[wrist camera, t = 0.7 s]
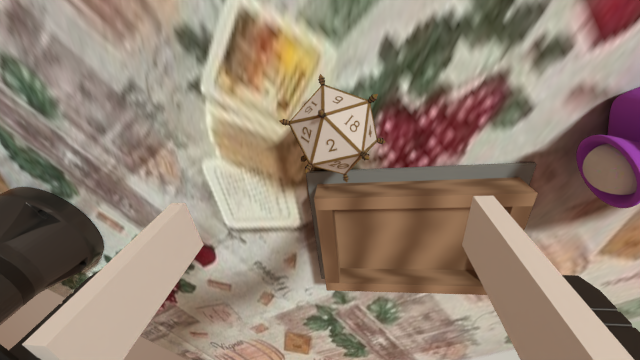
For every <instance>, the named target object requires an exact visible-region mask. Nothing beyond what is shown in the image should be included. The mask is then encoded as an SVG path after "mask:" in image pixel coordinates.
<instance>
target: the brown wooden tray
mask: <svg viewBox="0 0 640 360" xmlns="http://www.w3.org/2000/svg"><path fill="white" fill-rule="evenodd" d="M537 194H538V193H537V192H536V191H535V190H534V189H532V188H531V187H530V186H529V185H528V184H527V183H525V182H524V181H523V180H522V179H521V178H520V177H514V178H485V179H455V180H426V181H396V182H367V183H337V184H317V189H316V193H315V197H314V202H315V209H316V216H317V223H318V230H319V238H320V245H321V252H322V259H323V266H324V274H325V281H326V288H327V290H335V291H370V292H406V293H442V294H477V295H487V293H486V291H485V289H484V287H483V285H482V283H481V281H480V279H479V277H478V275H477V273H476V272H475V270H474V268H473V266H472V264H471V262H470V260H469V258H468V256H467V254H466V252H465V250H464V248H463V246H462V243H463V239H464V234H465V230H466V226H467V221H468V217H469V212H470V208H471V203H472V199H473V196H494V197H495V198H496V199H497V200H498V202H499V203H500V204H501V205H502V206H503V207H504V209H505V210H506V211H507V212H508V213H509V214H510V216H511V217H512V218H513V219H514V220H515V221H516V223H517V224H518V225H519V226H520V227H521V228H522V230H523V231H524V229H525V226H526V224H527V221H528V218H529V216H530V213H531V210H532V208H533V205H534V202H535V200H536V197H537Z"/></svg>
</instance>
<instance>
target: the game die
mask: <svg viewBox="0 0 640 360" xmlns="http://www.w3.org/2000/svg"><path fill="white" fill-rule="evenodd" d="M318 80H319V83H320V84H321V86H320V88H319V89H318V90H317V91H316V92H315V93H314V94H313V96H312V97H311V98H310V99H309V100H308V101H307V102H306V103H305V105H304V106H303V107H302V108H301V109H300V110H299V111H298V113H297V114H296V115H295V116H294V117H293V118H292V119H291V121H288V120H284V119H283V120H280V122H281V123H282V124H283V125H285V126H286V125H289V126H290V128H291V130H292V132H293V134H294V135H295V137H296V139H297V141H298V143H299V145H300V147H301V149H302V151H303V153H304V155H305V156H303V157H301V161H303V162H304V161H306V160H307V161H308V163H309V165H307V167H305V173H307V172H311V170H312V167H316V168H320V169H324V170H328V171H332V172H336V173H339V174H343V180H344V181H345V182H348V179H349V178H348V175H347V173H348V172H349V171H350V170H351V169H352V168H353V166H354V165H355V164H356V163H357V162H358V161H359V160H360V159H361V158H362V159H364V160H369V154H367V152H368V151H369V149H370V148H371V147H372V146H373V145H374V144H375V143H376V142H378V143H380V144H382V143H385V141H384V140H383V138H377V135H376V130H375V125H374V120H373V115H372V110H371V105H370V103H372V102H374V101H375V100H376V98H377V95H378V94H375V95H371V97H369V99H368V100H367V99H364V98H361V97H358V96H355V95H352V94H350V93H347V92H344V91H341V90H338V89H335V88H333V87H330V86H327V85H325V80H324V77H323V76H322V75H321V74H320V76H319V79H318Z"/></svg>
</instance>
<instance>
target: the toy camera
mask: <svg viewBox="0 0 640 360" xmlns="http://www.w3.org/2000/svg"><path fill="white" fill-rule="evenodd" d="M576 159H577V165H578V168H579V171H580V174H581V176H582V178H583V179H584V181H585V183H586V184H587V186H588V187H589V188H590V190H591V191H592V192H593V193H594V194H595V195H596V196H597V197H598V198H600V199H601V200H602V201H604V202H605V203H607V204H609V205H611V206H614V207H618V208H629V207H633V206H635V205H637V204H639V203H640V87H639V88H636V89H633V90H630V91H628V92H626V93H624V94H622V95H620V96H618V97H617V98H616V99H615V100H614V102H613V103H612V106H611V110H610V116H609V125H608V135H592V136H589V137H587V138H585V139H584V140H583V141H582V142H581V143H580V144H579V146H578V149H577V154H576Z"/></svg>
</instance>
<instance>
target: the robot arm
mask: <svg viewBox="0 0 640 360" xmlns="http://www.w3.org/2000/svg"><path fill="white" fill-rule="evenodd" d="M203 245H204V244H203V242H202V240H201V238H200V235H199V233H198V231H197V229H196V226H195V224H194V222H193V219H192V217H191V215H190V213H189V210H188V208H187V206H186V204H185V203H171V204H170V205H169V206H168V207H167V208H166V209H165V210H164V211H163V212H162V213H161V214H160V215H159V216H157V217H156V218H155V219H154V220H153V221H152V222H151V223H150V224H149V225H148V226H147V227H146V228H145V229H144V230H143V231H142V232H140V233H139V234H138V235H137V236H136V237H135V238H134V239H133V240H132V241H131V242H130V243H129V244H128V245H127V246H126V247H125V248H124V249H122V250H121V251H120V252H119V253H118V254H117V255H116V256H115V257H114V258H113V259H112V260H111V261H110V262H109V263H108V264H107V265H106V266H104V267H103V268H102V269H101V270H99V271H98V272H96V273H95V274H93V275H92V276H90V277H89V278H87V279H86V280H85V281H84V282H83V283H82V284H81V285H80V286H79V287H77V288H76V289H75V290H74V293H73V294H70V295H69V296H68V297H67V298H66V299H65V300H63V303H62V304H59V305H58V306H57V307H56V308H55V309H54V310H53V311H52V312H50V313H49V314H48V315H47V316H46V317H45V318H44V319H43V320H42V321H41V322H40V323H39V324H38V325H36V326H35V327H34V328H33V329H32V330H31V331H30V332H29V333H28V334H27V335H26V336H25V337H24V338H22V339H21V340H20V341H19V342H18V343H17V344H16V345H15V346H14V347H12V348H11V349H10V350H9V351H8V350H7V349H6V348H4V347H3V346H2V345H0V360H123V359H124V358H125V356H126V355H127V353H128V352H129V350H130V349H131V348H132V346H133V345H134V343H135V342H136V341H137V339H138V338H139V336H140V335H141V333H142V332H143V331H144V329H145V328H146V326H147V325H148V324H149V322H150V321H151V319H152V318H153V316H154V315H155V314H156V312H157V311H158V309H159V308H160V306H161V305H162V304H163V302H164V301H165V299H166V298H167V296H168V295H169V294H170V292H171V291H172V289H173V288H174V286H175V285H176V284H177V282H178V281H179V279H180V278H181V276H182V275H183V274H184V272H185V271H186V269H187V268H188V266H189V265H190V264H191V262H192V261H193V259H194V258H195V256H196V255H197V254H198V252H199V251H200V249H201V248H202V247H203ZM462 246H463V248H464V250H465V252H466V254H467V256H468V258H469V260H470V262H471V264H472V266H473V268H474V270H475V272H476V273H477V275H478V277H479V279H480V281H481V283H482V285H483V287H484V289H485V291H486V293H487V295H488V297H489V299H490V301H491V303H492V305H493V307H494V309H495V311H496V313H497V314H498V316H499V318H500V320H501V322H502V324H503V326H504V328H505V330H506V332H507V334H508V336H509V338H510V340H511V342H512V344H513V346H514V348H515V350H516V352H517V353H518V355H519V357H520V359H521V360H640V332H639V331H638V330H637V329H636V328H633V327H632V324H631V323H630V322H629V320H628V319H627V318H626V317H625V316H624V315H623V314H622V313H621V312H618V311H617V308H616V307H615V306H614V305H613V304H612V303H611V302H610V301H609V300H608V299H607V297H606V296H605V295H604V294H603V293H602V292H601V291H600V290H598V289H597V288H595V287H594V286H592V285H591V284H590V283H588V282H587V281H585V280H584V279H582V278H581V277H579V276H572V275H561V274H560V273H559V271H558V270H557V269H556V268H555V267H554V266H553V264H552V263H551V262H550V261H549V260H548V259H547V257H546V256H545V255H544V254H543V253H542V252H541V250H540V249H539V248H538V247H537V246H536V245H535V244H534V242H533V241H532V240H531V239H530V238H529V237H528V235H527V234H526V233H525V232H524V231H523V230H522V228H521V227H520V226H519V225H518V224H517V223H516V221H515V220H514V219H513V218H512V217H511V216H510V214H509V213H508V212H507V211H506V210H505V209H504V207H503V206H502V205H501V204H500V203H499V202H498V200H497V199H496V198H495V197H494V196H473V199H472V203H471V208H470V212H469V217H468V221H467V226H466V230H465V234H464V239H463V243H462ZM102 252H103V241H102V238H101V236H100V234H99V232H98V230H97V229H96V227H95V226H94V225H93V223H92V222H91V221H90V220H89V219H88V218H87V217H86V216H85V215H84V214H83V213H82V212H81V211H79V210H78V209H77V208H76V207H74V206H73V205H71V204H70V203H68V202H67V201H65V200H63V199H62V198H60V197H58V196H56V195H53V194H51V193H49V192H46V191H43V190H40V189H36V188H30V187H17V188H13V189H10V190H8V191H6V192H4V193H2V194H0V325H1V324H2V323H3V322H5V321H6V320H7V319H8V318H9V317H10V316H12V315H13V314H14V313H15V312H16V311H18V310H19V309H20V308H21V307H22V306H23V305H25V304H26V303H27V302H28V301H29V300H31V299H32V298H33V297H34V296H36V295H37V294H38V293H40V292H42V291H44V290H45V289H47V288H49V287H51V286H53V285H55V284H57V283H59V282H61V281H63V280H65V279H67V278H69V277H71V276H73V275H75V274H77V273H79V272H81V271H83V270H85V269H86V268H88V267H89V266H90V265H91V264H92V263H93V262H95V261H96V260H97V259H98V258H99V257H100V256H101V254H102Z"/></svg>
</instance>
